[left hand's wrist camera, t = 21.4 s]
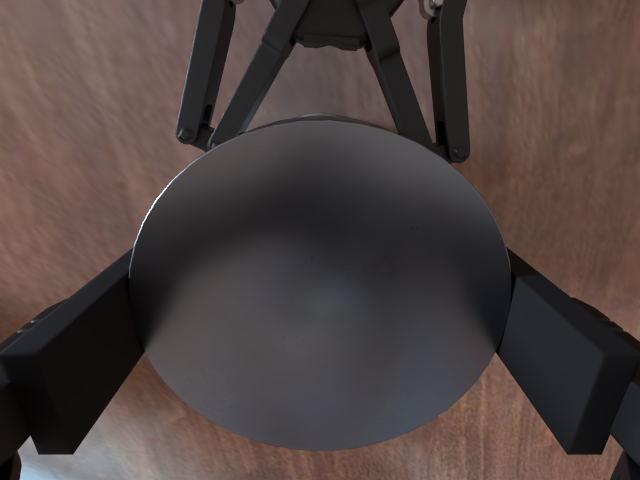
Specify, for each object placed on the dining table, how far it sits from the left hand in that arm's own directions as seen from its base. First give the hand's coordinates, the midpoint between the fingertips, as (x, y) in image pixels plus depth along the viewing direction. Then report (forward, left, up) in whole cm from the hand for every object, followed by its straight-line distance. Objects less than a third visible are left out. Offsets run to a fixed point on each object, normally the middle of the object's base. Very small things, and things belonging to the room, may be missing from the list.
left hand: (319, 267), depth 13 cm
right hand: (-4, +1, -10) cm, 11 cm away
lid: (0, 0, +3) cm, 3 cm away
